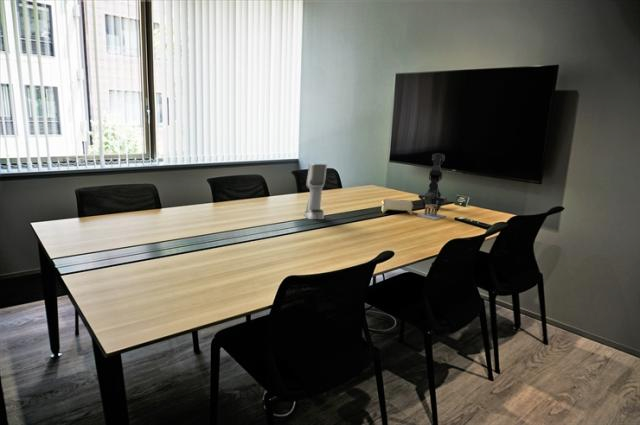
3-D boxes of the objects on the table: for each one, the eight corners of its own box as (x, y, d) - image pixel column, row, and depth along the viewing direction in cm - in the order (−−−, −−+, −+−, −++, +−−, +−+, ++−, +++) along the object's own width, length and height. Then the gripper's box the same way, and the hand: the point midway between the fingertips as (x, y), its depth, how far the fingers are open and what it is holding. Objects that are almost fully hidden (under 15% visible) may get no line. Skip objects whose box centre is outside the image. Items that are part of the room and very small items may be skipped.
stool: (428, 213, 293) (429, 203, 291) (436, 215, 289) (437, 205, 287) (424, 214, 289) (425, 204, 287) (432, 216, 285) (433, 206, 283)
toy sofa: (410, 211, 298) (411, 197, 295) (412, 214, 289) (414, 200, 287) (380, 210, 298) (381, 195, 295) (382, 213, 289) (383, 198, 287)
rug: (427, 212, 298) (427, 211, 298) (445, 216, 289) (446, 215, 289) (416, 215, 286) (416, 215, 286) (434, 220, 277) (435, 219, 277)
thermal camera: (308, 220, 262) (310, 164, 253) (302, 214, 274) (305, 161, 265) (325, 219, 266) (329, 164, 257) (320, 214, 277) (322, 161, 269)
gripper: (415, 186, 284) (413, 209, 288) (441, 191, 272) (438, 214, 276) (423, 185, 292) (421, 206, 296) (448, 189, 280) (445, 212, 284)
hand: (431, 210), depth 288 cm, fingers open, 9 cm apart
